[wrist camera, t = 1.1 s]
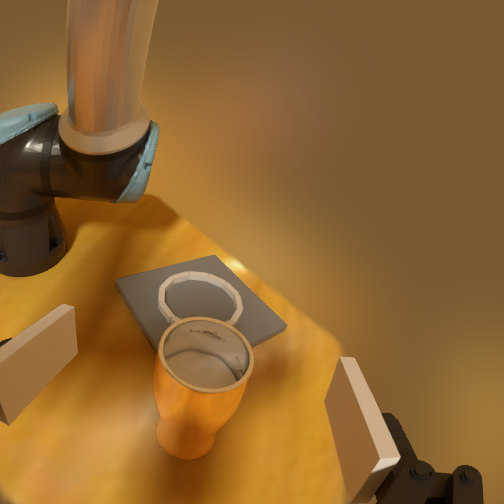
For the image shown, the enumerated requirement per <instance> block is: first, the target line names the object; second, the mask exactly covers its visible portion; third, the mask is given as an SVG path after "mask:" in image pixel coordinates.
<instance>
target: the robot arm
mask: <svg viewBox="0 0 504 504" xmlns="http://www.w3.org/2000/svg"><path fill="white" fill-rule="evenodd" d="M158 1H159V0H68V12H67V36H66V65H67V92H68V107H67V108H66V109H65V110H64V112H63V113H62V115H58V114H57V113H58V112H59V111H58V108H57V105H56V104H54V103H40V104H33V105H29V106H24V107H19V108H16V109H12V110H9V111H6V112H4V113H1V114H0V273H1V274H4V275H7V276H13V277H24V276H30V275H35V274H38V273H41V272H43V271H45V270H47V269H49V268H51V267H52V266H54V265H55V264H56V263H57V262H59V261H60V259H61V258H62V257H63V255H64V254H65V252H66V249H67V237H66V230H65V227H64V225H63V222H62V220H61V217H60V215H59V212H58V210H57V207H56V204H55V197H60V198H72V199H83V200H93V201H102V202H111V203H114V204H115V203H119V202H121V203H134V202H137V201H138V200H139V199H141V197H142V196H143V194H144V192H145V189H146V186H147V183H148V179H149V176H150V171H151V166H152V163H153V159H154V156H155V151H156V147H157V142H158V136H159V126H158V124H157V123H155V122H153V121H152V120H150V115H149V111H148V109H147V107H146V105H145V104H144V103H143V102H142V101H141V100H140V97H141V90H142V83H143V77H144V70H145V64H146V59H147V52H148V47H149V42H150V37H151V32H152V27H153V23H154V18H155V13H156V9H157V5H158ZM77 354H78V347H77V335H76V321H75V307H74V306H70V305H67V304H61V305H60V306H58V307H57V308H55V309H54V310H52V311H51V312H50V313H48V314H47V315H45V316H44V317H42V318H41V319H39V320H38V321H37V322H35V323H34V324H32V325H31V326H29V327H28V328H27V329H25V330H24V331H22V332H21V333H20V334H18V335H17V336H15V337H14V338H9V339H6V340H3V341H1V342H0V421H2V422H3V423H5V424H7V425H8V426H10V424H11V423H12V422H13V421H14V420H15V419H16V418H17V417H18V416H19V414H20V413H21V412H22V411H23V410H24V409H25V408H26V407H27V406H28V405H29V404H30V403H31V401H32V400H33V399H34V398H35V397H36V396H37V395H38V394H39V393H40V392H41V391H42V390H43V389H44V388H45V387H46V385H47V384H48V383H49V382H50V381H51V380H52V379H53V378H54V377H55V376H56V375H57V374H58V373H59V372H60V371H61V370H62V369H63V368H64V367H65V366H66V365H67V364H68V363H69V362H70V361H71V360H72V359H73V358H74V357H75V356H76V355H77ZM324 402H325V406H326V410H327V414H328V418H329V422H330V426H331V430H332V434H333V438H334V442H335V446H336V450H337V454H338V458H339V462H340V466H341V470H342V475H343V479H344V483H345V487H346V492H347V496H348V500H349V504H358V503H368V502H369V501H370V500H371V498H372V497H373V496H374V495H375V496H376V499H377V503H376V504H483V485H482V477H481V474H480V473H479V471H478V470H477V469H475V468H474V467H472V466H469V465H461V466H459V467H457V468H456V469H455V471H454V472H453V473H452V474H447V473H437V472H435V471H434V469H433V468H432V467H431V465H430V464H428V463H426V462H424V461H420V460H418V459H417V457H416V455H415V453H414V451H413V448H412V446H411V444H410V443H409V440H408V439H407V437H406V434H405V432H404V431H403V430H402V427H401V425H400V423H399V421H398V420H397V419H396V418H395V417H394V416H393V415H392V414H391V413H381V412H380V411H379V408H378V406H377V404H376V402H375V400H374V398H373V395H372V393H371V391H370V389H369V387H368V385H367V383H366V381H365V379H364V377H363V374H362V372H361V371H360V368H359V366H358V364H357V362H356V360H355V358H350V357H339V360H338V363H337V366H336V369H335V372H334V375H333V378H332V381H331V384H330V386H329V389H328V392H327V395H326V398H325V400H324Z"/></svg>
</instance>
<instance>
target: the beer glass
mask: <svg viewBox="0 0 504 504" xmlns="http://www.w3.org/2000/svg"><path fill="white" fill-rule="evenodd" d="M253 366H254V354H253V351H252V348H251V346H250V344H249V342H248V341H247V339H246V338H245V337H244V336H243V334H242V333H240V332H239V331H238V330H237V329H236V328H234V327H233V326H231V325H229V324H227V323H225V322H223V321H220V320H217V319H214V318H209V317H189V318H185V319H182V320H179V321H177V322H175V323H173V324H172V325H170V326H169V327H168V328H167V329H166V330H165V331H164V333H163V334H162V336H161V338H160V341H159V345H158V353H157V357H156V362H155V367H154V376H153V392H154V398H155V402H156V406H157V409H158V412H159V415H160V419H159V421H158V424H157V428H156V436H157V440H158V442H159V444H160V445H161V447H162V448H163V449H164V450H165V451H166V452H167V453H168V454H170V455H172V456H173V457H176V458H179V459H183V460H193V459H197V458H200V457H202V456H204V455H205V454H207V453H208V452H209V451H210V449H211V448H212V446H213V444H214V440H215V432H216V431H217V430H218V429H220V428H221V427H222V426H223V425H224V424H225V423H226V422H227V421H228V420H229V419H230V417H231V416H232V415H233V414H234V412H235V411H236V409H237V407H238V405H239V404H240V402H241V399H242V397H243V395H244V392H245V390H246V387H247V384H248V380H249V377H250V374H251V372H252V370H253Z"/></svg>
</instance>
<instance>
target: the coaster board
mask: <svg viewBox="0 0 504 504" xmlns="http://www.w3.org/2000/svg"><path fill="white" fill-rule="evenodd" d="M116 287H117V289H118V290H119V292H120V294H121V296H122V297H123V299H124V301H125V302H126V304H127V306H128V308H129V309H130V311H131V312H132V314H133V316H134V317H135V319H136V321H137V322H138V324H139V325H140V327H141V329H142V330H143V332H144V333H145V335H146V336H147V338H148V340H149V341H150V343H151V344H152V346H153V347H154V349H155V350H156V352H157V353H158V345H159V341H160V338H161V336H162V334H163V333H164V331H165V330H166V329H167V328H168V327H169V326H170V325H172V324H173V323H175V322H177V321H179V320H182V319H185V318H189V317H209V318H214V319H217V320H220V321H223V322H225V323H227V324H229V325H231V326H233V327H234V328H236V329H237V330H238V331H239V332H240V333H242V334H243V336H244V337H245V338H246V339H247V341H248V342H249V344H250V346H251V348H252V347H254V346H256V345H258V344H260V343H262V342H264V341H266V340H268V339H270V338H272V337H273V336H275V335H277V334H279V333H281V332H283V331H285V329H286V327H287V324H286V323H285V322H284V321H283V320H281V319H280V318H279V317H278V316H277V315H276V314H275V313H274V312H273V311H272V310H271V309H270V308H269V307H268V306H267V305H266V304H265V303H264V302H263V301H262V300H261V299H260V298H259V297H258V296H257V295H256V294H254V293H253V292H252V291H251V290H250V289H249V288H248V287H247V286H246V285H245V284H244V283H243V282H242V281H241V280H240V279H239V278H238V277H237V276H236V275H235V274H234V273H233V272H232V271H231V270H230V269H229V268H228V267H227V266H226V265H225V264H224V263H223V262H222V261H221V260H220V259H219V258H218V257H217V256H216V255H211V256H207V257H203V258H199V259H195V260H191V261H187V262H183V263H179V264H175V265H171V266H167V267H162V268H158V269H154V270H150V271H146V272H142V273H138V274H134V275H130V276H126V277H122V278H118V279H116Z"/></svg>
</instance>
